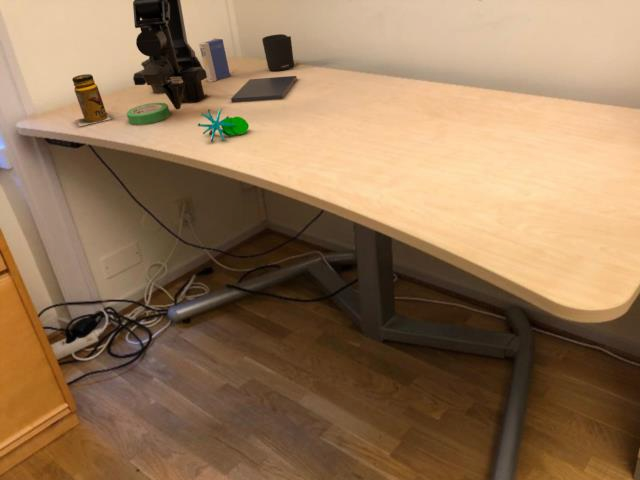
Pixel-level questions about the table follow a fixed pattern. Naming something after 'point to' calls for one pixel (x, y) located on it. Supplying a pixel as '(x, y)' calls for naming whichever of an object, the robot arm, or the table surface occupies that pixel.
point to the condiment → (89, 100)
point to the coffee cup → (155, 90)
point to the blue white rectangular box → (214, 59)
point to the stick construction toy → (225, 125)
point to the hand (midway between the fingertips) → (178, 108)
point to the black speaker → (278, 52)
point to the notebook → (264, 89)
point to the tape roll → (148, 113)
